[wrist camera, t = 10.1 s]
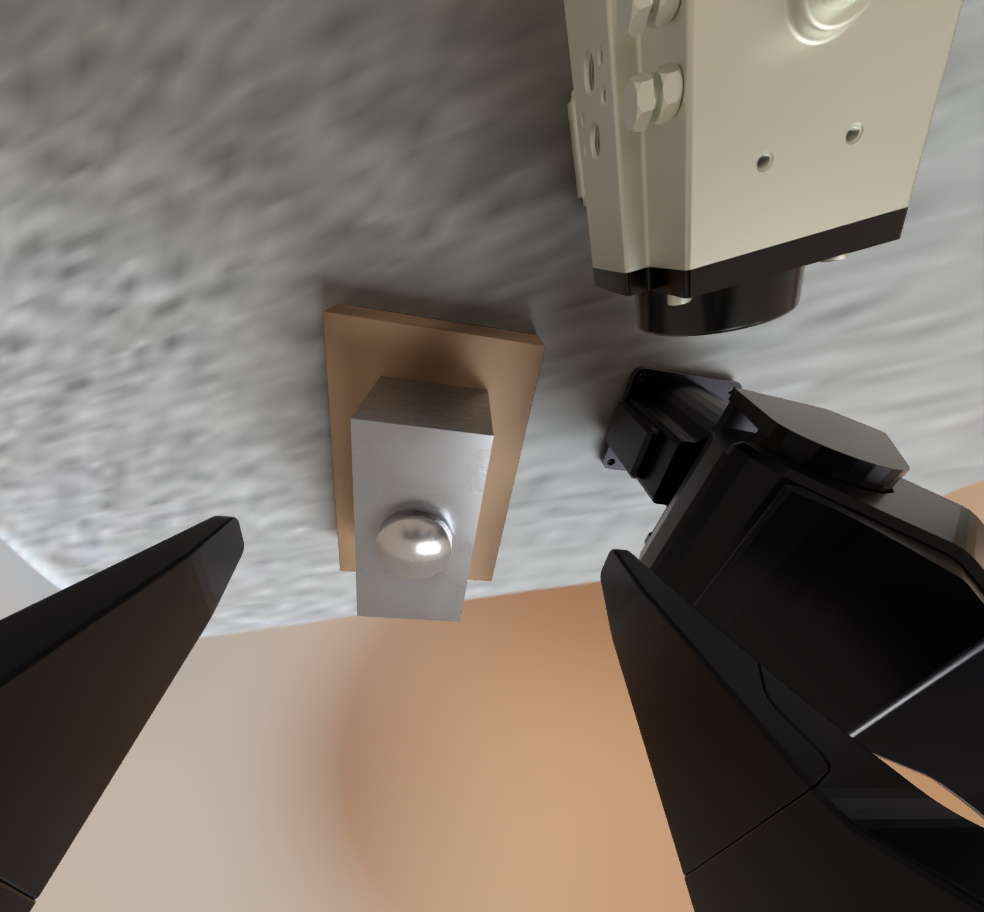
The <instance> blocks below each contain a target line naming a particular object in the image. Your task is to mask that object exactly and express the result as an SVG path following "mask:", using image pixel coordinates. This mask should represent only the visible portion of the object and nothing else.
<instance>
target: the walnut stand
mask: <svg viewBox="0 0 984 912" xmlns="http://www.w3.org/2000/svg"><path fill="white" fill-rule="evenodd" d="M323 322H324V337H325V352H326V367H327V382H328V397H329V412H330V427H331V442H332V457H333V472H334V487H335V502H336V517H337V532H338V547H339V562H340V571H354V572H356V559H355V530H354V501H353V472H352V444H351V417H352V416H353V414H354V413H355V412H356V410H357V409H358V407H359V406H360V404H361V403H362V402H363V400H364V399H365V397H366V396H367V394H368V393H369V392H370V390H371V389H372V387H373V386H374V384H375V383H376V381H377V380H378V379H379V377H380V376H387V377H395V378H402V379H409V380H417V381H424V382H431V383H438V384H446V385H453V386H460V387H468V388H475V389H482V390H488V394H489V402H490V410H491V418H492V426H493V434H494V437H493V442H492V448H491V453H490V459H489V464H488V470H487V475H486V481H485V486H484V492H483V497H482V503H481V508H480V514H479V519H478V525H477V530H476V536H475V541H474V547H473V552H472V557H471V563H470V568H469V574H468V579H469V580H484V581H492V576H493V572H494V568H495V563H496V559H497V554H498V550H499V546H500V541H501V537H502V533H503V528H504V524H505V519H506V515H507V511H508V506H509V502H510V498H511V493H512V489H513V484H514V480H515V476H516V471H517V467H518V463H519V458H520V454H521V449H522V445H523V441H524V436H525V432H526V428H527V423H528V419H529V414H530V410H531V406H532V401H533V397H534V393H535V388H536V384H537V379H538V375H539V371H540V366H541V362H542V358H543V353H544V349H545V345H544V344H543V343H542V341H541V340H540V339H539V337H538V336H537V335H534V334H527V333H521V332H515V331H508V330H502V329H496V328H489V327H483V326H477V325H470V324H464V323H458V322H451V321H445V320H439V319H432V318H426V317H420V316H413V315H407V314H401V313H394V312H388V311H382V310H375V309H369V308H363V307H356V306H350V305H344V304H340V305H337V306H335V307H333V308H331V309H328V310H326V311H324V312H323Z"/></svg>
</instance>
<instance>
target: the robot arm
mask: <svg viewBox="0 0 984 912" xmlns="http://www.w3.org/2000/svg"><path fill="white" fill-rule="evenodd" d="M642 373H645V375H644V377H643V378H642V379H641V380H638V378H639V376H640V374H642ZM731 387H733V389H732V390H731V391H730V392H728V391H729V389H730V388H731ZM606 442H607V445H606V447H605V450H604V453H603V456H602V459H601V461H602V463H603V465H604V466H605V467H606V468H608V469H615V470H624V471H627V472H628V473H629V475H630V476H631V477H632V478H635V479H637V480H638V481H639V483H640V484H641V485H642V487H643V488H644V490H645V491H646V492H647V494H648V495H649V497H650V498H651V499H652V501H653V502H654V503H656V504H664V505H666V507H667V508H666V510H665V511H664V513H663V515H662V516H661V518H660V520H659V521H658V523H657V525H656V526H655V528H654V530H653V532H650V533H649V534H648V536H647V538H646V539H645V546H644V548H643V549H642V551H641V553H640V557H639V559H637V558H636V557H635V556H634V555H633V554H632V553H630V552H629V551H627V550H620V549H613V550H611V551H610V552H609V554H608V557H607V559H606V561H605V564H604V566H603V568H602V571H601V584H602V589H603V594H604V600H605V604H606V610H607V615H608V620H609V625H610V630H611V635H612V638H613V642H614V646H615V650H616V653H617V656H618V659H619V663H620V666H621V669H622V672H623V676H624V679H625V682H626V686H627V689H628V692H629V696H630V699H631V702H632V705H633V709H634V712H635V715H636V719H637V722H638V725H639V729H640V732H641V735H642V739H643V742H644V745H645V748H646V752H647V755H648V759H649V762H650V765H651V768H652V771H653V775H654V778H655V782H656V785H657V788H658V791H659V795H660V798H661V801H662V805H663V808H664V811H665V815H666V818H667V821H668V824H669V828H670V831H671V835H672V838H673V841H674V844H675V848H676V851H677V854H678V857H679V861H680V864H681V868H682V870H683V873H684V875H685V882H686V885H687V888H688V892H689V895H690V898H691V902H692V905H693V908H694V911H695V912H984V828H983V827H981V826H979V825H977V824H975V823H973V822H971V821H969V820H967V819H965V818H963V817H961V816H960V815H958V814H956V813H954V812H952V811H951V810H949V809H948V808H946V807H944V806H943V805H941V804H940V803H938V802H937V801H935V800H934V799H932V798H931V797H929V796H928V795H926V794H925V793H924V792H922V791H921V790H920V789H918V788H917V787H916V786H914V785H913V784H912V783H910V782H909V781H908V780H907V779H905V778H904V777H903V776H901V775H900V774H899V773H897V772H896V771H895V770H894V769H892V768H891V767H890V766H888V765H887V764H886V763H884V762H883V761H882V760H881V759H879V758H878V757H881V758H883V759H886V760H888V761H890V762H893V763H895V764H898V765H900V766H903V767H905V768H907V769H910V770H912V771H915V772H917V773H920V774H922V775H925V776H926V777H928V778H930V779H932V780H934V781H935V782H937V783H938V784H939V785H941V786H942V787H944V788H945V789H946V790H947V791H949V792H950V793H952V794H953V795H954V796H956V797H957V798H958V799H960V800H961V801H962V802H963V803H965V804H966V805H967V806H969V807H970V808H971V809H972V810H973V811H975V812H976V813H977V814H978V815H980V816H981V817H982V818H983V819H984V524H983V523H982V522H981V520H980V519H979V518H978V517H977V516H976V515H975V514H974V513H973V512H971V511H970V510H968V509H967V508H965V507H963V506H961V505H959V504H957V503H955V502H953V501H951V500H948V499H946V498H944V497H942V496H940V495H938V494H935V493H933V492H931V491H929V490H927V489H925V488H922V487H920V486H918V485H916V484H914V483H911V482H909V481H907V480H905V479H903V478H902V477H903V476H904V475H905V474H906V473H907V472H908V470H909V466H908V464H907V463H906V461H905V460H904V458H903V457H902V456H901V454H900V453H899V451H898V450H897V449H896V447H895V446H894V444H893V443H892V441H891V440H890V439H889V437H888V436H887V434H886V433H884V432H882V431H880V430H877V429H875V428H872V427H870V426H867V425H865V424H862V423H860V422H857V421H855V420H852V419H850V418H847V417H845V416H842V415H840V414H837V413H835V412H832V411H830V410H827V409H823V408H819V407H815V406H811V405H807V404H802V403H798V402H794V401H790V400H786V399H781V398H777V397H773V396H769V395H765V394H761V393H756V392H752V391H748V390H744V389H742V387H741V385H740V383H738V382H736V381H733V380H728V379H721V378H714V377H708V376H701V375H695V374H688V373H682V372H675V371H668V370H662V369H655V368H649V367H638V368H636V369H635V370H634V371H633V373H632V375H631V378H630V380H629V383H628V386H627V389H626V392H625V394H624V397H623V400H622V401H621V402H620V403H618V406H617V408H616V411H615V414H614V417H613V420H612V423H611V425H610V428H609V431H608V434H607V437H606ZM609 459H613V460H612V461H611V462H607V461H608V460H609ZM243 550H244V542H243V537H242V533H241V529H240V525H239V521H238V520H237V519H236V518H235V517H229V516H214V517H212V518H209V519H207V520H205V521H203V522H201V523H199V524H197V525H195V526H193V527H191V528H189V529H187V530H185V531H183V532H181V533H179V534H176V535H174V536H172V537H170V538H168V539H166V540H164V541H162V542H160V543H158V544H156V545H154V546H152V547H150V548H148V549H146V550H144V551H142V552H139V553H137V554H135V555H133V556H131V557H129V558H127V559H125V560H123V561H121V562H119V563H117V564H115V565H113V566H111V567H109V568H107V569H104V570H102V571H100V572H98V573H96V574H94V575H92V576H90V577H88V578H86V579H84V580H82V581H80V582H78V583H76V584H74V585H72V586H69V587H67V588H65V589H63V590H61V591H59V592H57V593H55V594H53V595H51V596H49V597H47V598H45V599H43V600H41V601H39V602H37V603H35V604H32V605H30V606H28V607H26V608H24V609H22V610H20V611H18V612H16V613H14V614H12V615H10V616H8V617H6V618H4V619H2V620H0V912H30V911H31V909H32V908H33V906H34V904H35V902H36V900H35V899H36V898H38V897H39V895H40V894H41V892H42V891H43V889H44V887H45V886H46V884H47V883H48V881H49V879H50V878H51V876H52V874H53V872H54V871H55V869H56V868H57V866H58V865H59V863H60V862H61V860H62V858H63V857H64V855H65V853H66V852H67V850H68V849H69V847H70V845H71V844H72V842H73V840H74V839H75V837H76V836H77V834H78V832H79V831H80V829H81V828H82V826H83V824H84V823H85V821H86V819H87V818H88V816H89V815H90V813H91V811H92V810H93V808H94V807H95V805H96V803H97V802H98V800H99V798H100V797H101V795H102V794H103V792H104V790H105V789H106V787H107V785H108V784H109V782H110V781H111V779H112V777H113V776H114V774H115V772H116V771H117V769H118V768H119V766H120V764H121V763H122V761H123V760H124V758H125V756H126V755H127V753H128V752H129V750H130V748H131V747H132V745H133V743H134V742H135V740H136V739H137V737H138V735H139V734H140V732H141V731H142V729H143V727H144V726H145V724H146V723H147V721H148V719H149V718H150V716H151V714H152V713H153V711H154V710H155V708H156V706H157V705H158V703H159V701H160V700H161V698H162V697H163V695H164V693H165V692H166V690H167V689H168V687H169V685H170V684H171V682H172V680H173V679H174V677H175V676H176V674H177V672H178V671H179V669H180V668H181V666H182V664H183V663H184V661H185V659H186V658H187V656H188V655H189V653H190V651H191V650H192V648H193V647H194V645H195V643H196V642H197V640H198V638H199V637H200V635H201V634H202V632H203V630H204V629H205V627H206V625H207V624H208V622H209V620H210V619H211V617H212V615H213V613H214V611H215V609H216V607H217V605H218V603H219V601H220V599H221V597H222V595H223V593H224V591H225V589H226V587H227V585H228V583H229V580H230V578H231V576H232V574H233V572H234V570H235V568H236V566H237V564H238V562H239V560H240V558H241V556H242V553H243ZM875 755H876V756H875ZM877 756H878V757H877Z"/></svg>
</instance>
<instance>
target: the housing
mask: <svg viewBox="0 0 984 912" xmlns="http://www.w3.org/2000/svg"><path fill="white" fill-rule="evenodd" d="M493 437H494V434H493V426H492V418H491V410H490V402H489V394H488V390H482V389H475V388H468V387H460V386H453V385H446V384H438V383H431V382H424V381H417V380H409V379H402V378H395V377H387V376H380V377H379V379H378V380H377V381H376V383H375V384H374V386H373V387H372V389H371V390H370V392H369V393H368V394H367V396H366V397H365V399H364V400H363V402H362V403H361V404H360V406H359V407H358V409H357V410H356V412H355V413H354V414H353V416H352V417H351V444H352V472H353V501H354V530H355V559H356V588H357V616H368V617H387V618H404V619H422V620H440V621H458V622H459V621H460V617H461V612H462V607H463V601H464V596H465V590H466V585H467V579H468V574H469V568H470V563H471V557H472V552H473V547H474V541H475V536H476V530H477V525H478V519H479V514H480V508H481V503H482V497H483V492H484V486H485V481H486V475H487V470H488V464H489V459H490V453H491V448H492V442H493Z"/></svg>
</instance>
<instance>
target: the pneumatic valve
mask: <svg viewBox="0 0 984 912" xmlns="http://www.w3.org/2000/svg"><path fill="white" fill-rule="evenodd" d="M963 1H964V0H564V8H565V17H566V26H567V35H568V44H569V53H570V63H571V72H572V81H573V91H572V92H571V102H569V103H568V104H567V108H568V117H569V125H570V134H571V142H572V151H573V159H574V168H575V176H576V184H577V193H578V198H580V197H582V199H583V205H584V206H586V208H587V217H588V227H589V236H590V245H591V254H592V263H593V272H594V281H595V286H596V287H599V288H602V289H605V290H608V291H611V292H615V293H618V294H621V295H624V296H631V295H635V306H636V324H637V327H638V328H639V329H640V330H642V331H643V332H646V333H649V334H654V335H661V336H698V335H708V334H716V333H723V332H729V331H734V330H739V329H744V328H748V327H752V326H756V325H759V324H763V323H766V322H769V321H772V320H774V319H777V318H779V317H781V316H783V315H785V314H787V313H789V312H790V311H792V310H793V309H794V308H795V307H796V306H797V305H798V304H799V301H800V295H801V289H802V283H803V276H804V270H805V265H809V264H812V263H816V262H819V261H820V262H832V261H838V260H842V259H845V258H847V257H848V255H849V253H851V252H854V251H858V250H862V249H865V248H869V247H872V246H876V245H879V244H883V243H886V242H890V241H893V240H897V239H900V236H901V232H902V229H903V225H904V221H905V217H906V214H907V210H908V206H909V202H910V199H911V195H912V191H913V187H914V184H915V180H916V176H917V173H918V169H919V165H920V161H921V158H922V154H923V150H924V146H925V143H926V139H927V135H928V131H929V128H930V124H931V120H932V117H933V113H934V109H935V105H936V102H937V98H938V94H939V90H940V87H941V83H942V79H943V75H944V72H945V68H946V64H947V61H948V57H949V53H950V49H951V46H952V42H953V38H954V34H955V31H956V27H957V23H958V19H959V16H960V12H961V8H962V4H963Z"/></svg>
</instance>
